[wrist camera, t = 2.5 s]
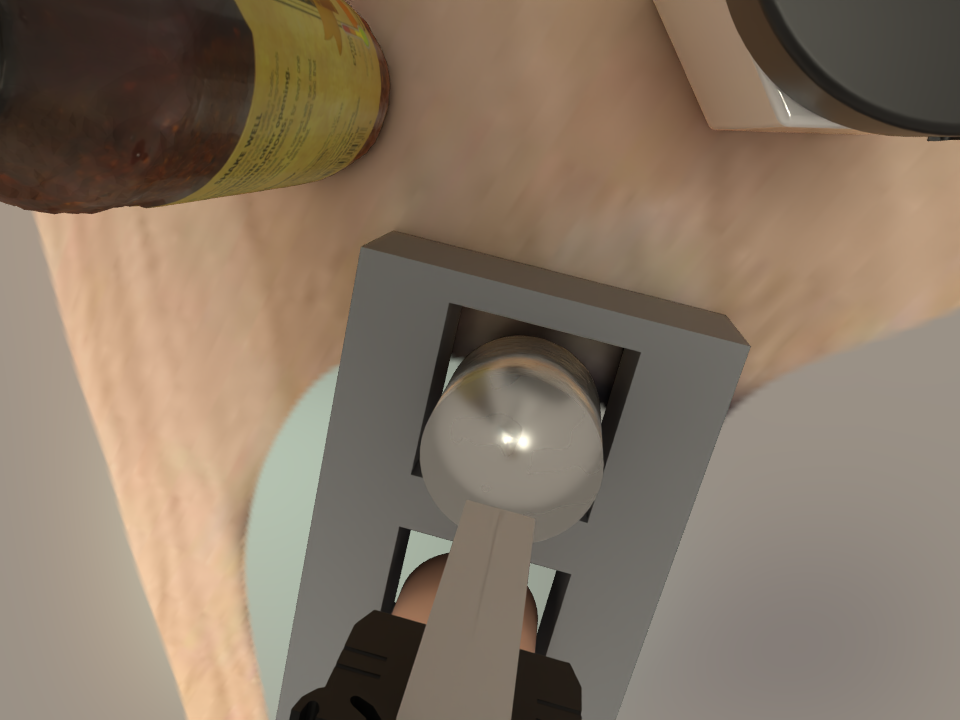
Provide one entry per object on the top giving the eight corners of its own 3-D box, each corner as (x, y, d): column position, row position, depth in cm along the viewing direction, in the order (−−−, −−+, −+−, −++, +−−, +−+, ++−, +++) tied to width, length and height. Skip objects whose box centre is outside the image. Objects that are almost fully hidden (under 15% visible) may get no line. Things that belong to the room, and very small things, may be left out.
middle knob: (413, 535, 26) (384, 604, 22) (553, 574, 26) (548, 650, 22) (386, 651, 27) (355, 734, 24) (518, 689, 27) (508, 779, 23)
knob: (464, 318, 23) (440, 353, 20) (619, 358, 23) (626, 402, 19) (431, 458, 25) (403, 517, 21) (576, 498, 25) (575, 564, 21)
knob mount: (393, 230, 26) (361, 246, 23) (726, 315, 26) (751, 346, 22) (293, 747, 34) (256, 824, 30) (549, 823, 33) (545, 912, 29)
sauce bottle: (400, -8, 24) (-249, -517, 5) (393, 188, 26) (-106, 326, 7) (208, -19, 25) (-965, -501, 6) (214, 173, 27) (-668, 265, 8)
